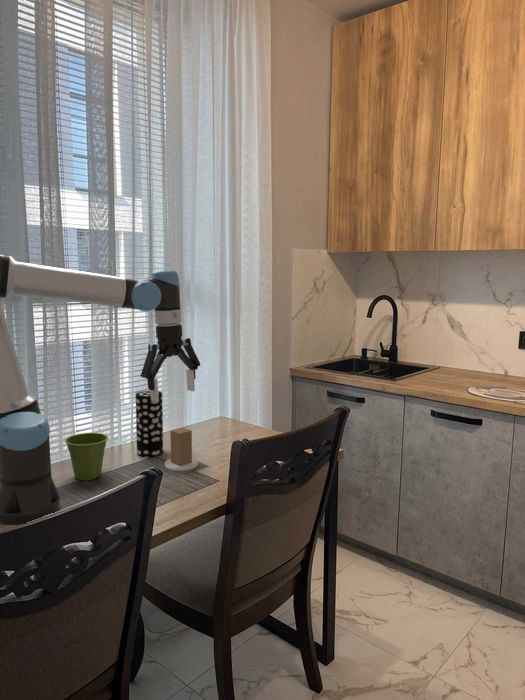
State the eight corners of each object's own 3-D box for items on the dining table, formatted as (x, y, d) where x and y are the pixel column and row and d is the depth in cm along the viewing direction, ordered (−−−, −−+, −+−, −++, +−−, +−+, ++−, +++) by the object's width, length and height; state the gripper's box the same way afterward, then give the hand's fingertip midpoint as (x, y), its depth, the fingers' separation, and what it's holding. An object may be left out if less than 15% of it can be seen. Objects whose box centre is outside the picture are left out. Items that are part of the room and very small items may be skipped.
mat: (176, 477, 153) (176, 476, 152) (153, 466, 161) (153, 465, 161) (209, 467, 161) (209, 466, 161) (186, 457, 169) (186, 455, 169)
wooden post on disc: (177, 474, 154) (176, 437, 152) (158, 465, 161) (157, 430, 159) (204, 466, 161) (204, 430, 159) (185, 457, 168) (185, 423, 166)
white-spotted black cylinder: (166, 450, 175) (165, 391, 172) (159, 459, 167) (157, 397, 164) (141, 449, 176) (140, 390, 173) (133, 458, 168) (131, 396, 165)
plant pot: (116, 477, 153) (115, 439, 151) (76, 487, 145) (74, 448, 143) (99, 465, 161) (97, 429, 160) (59, 475, 154) (58, 437, 152)
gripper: (140, 330, 143) (146, 407, 146) (209, 320, 161) (213, 388, 164) (124, 329, 148) (130, 402, 151) (193, 318, 166) (197, 385, 169)
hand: (173, 395), depth 158 cm, fingers open, 13 cm apart
